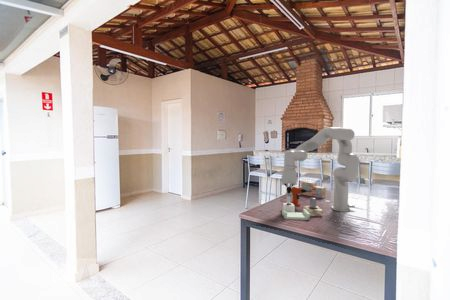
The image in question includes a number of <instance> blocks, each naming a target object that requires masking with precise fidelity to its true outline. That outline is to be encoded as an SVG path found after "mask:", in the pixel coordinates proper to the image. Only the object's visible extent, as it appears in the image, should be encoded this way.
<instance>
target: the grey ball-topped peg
mask: <svg viewBox="0 0 450 300" xmlns="http://www.w3.org/2000/svg"><path fill="white" fill-rule="evenodd" d="M285 195H286V203H287V205H291V202H292V196H293V194H292V193H291V192H290V193H287V191H286V192H285Z"/></svg>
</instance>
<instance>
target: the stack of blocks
mask: <svg viewBox="0 0 450 300" xmlns="http://www.w3.org/2000/svg"><path fill="white" fill-rule="evenodd" d="M300 184H301V185H300V188H301V189H305V190H308V191H312V192H306V193H300V195H304V196H309V197H312V198H316V199H317V198H318V199H325V198H326V191H327V189H326V186H325V187H323V186H318V185H317V182H316V181H315V182H314V181H308V180H303V181H301V183H300Z"/></svg>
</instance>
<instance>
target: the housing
mask: <svg viewBox="0 0 450 300" xmlns="http://www.w3.org/2000/svg"><path fill="white" fill-rule="evenodd" d="M295 208H296V206H294V204H293V203H291V205H287V202H282V209H285V211H286V212H295V211H296V209H295Z"/></svg>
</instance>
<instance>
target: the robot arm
mask: <svg viewBox="0 0 450 300" xmlns="http://www.w3.org/2000/svg"><path fill="white" fill-rule="evenodd" d="M354 137H355V131H354V130H353V129H351V128H345V127H336V126H335V127H334V126H331V127H324V128H322V129H321V130H320V131H318V132H317V133H316V134H315V135H313V137H311V138H310V139H308V140H306V141H304V142H302V143H300V145H298V146H297V147H296V148H295V149H293V150H285V151H284V153H283V154H284V156H283V157H284V160H283V169H282V172H281V185H283V186H285V188H286V192H287V193H290V192H291V188H292V187H294V186H296V185H298V184H297V181H298V180H297V179H298V178H297V177H298V176H297V168H298V166H297V165H296V161H298V162H304V161H306V160H307V159H308V153H309V152H311V151H314V150H316V149H319V148H320V147H322V146H323V145H324V144H325V143H326V142H328V141H329V140H336V141H337V142H338V146H339V148H338V154H337V163H338V165H340V166H339V167H336V168H334V170H333V173H332V175H333V185H334V186H333V205H331V207H330V208H331V210H333V211H337V212H343V213H346V212H350V211H351V208H354V209H355V208H356V207H355V206H356V205H355V204H349V183H353V182H355V180H357V177H358V172H359V166H360V159H359V156H358V155H357V154H354V153H352V152H353V143H352V141H351V140H353V139H354Z"/></svg>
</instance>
